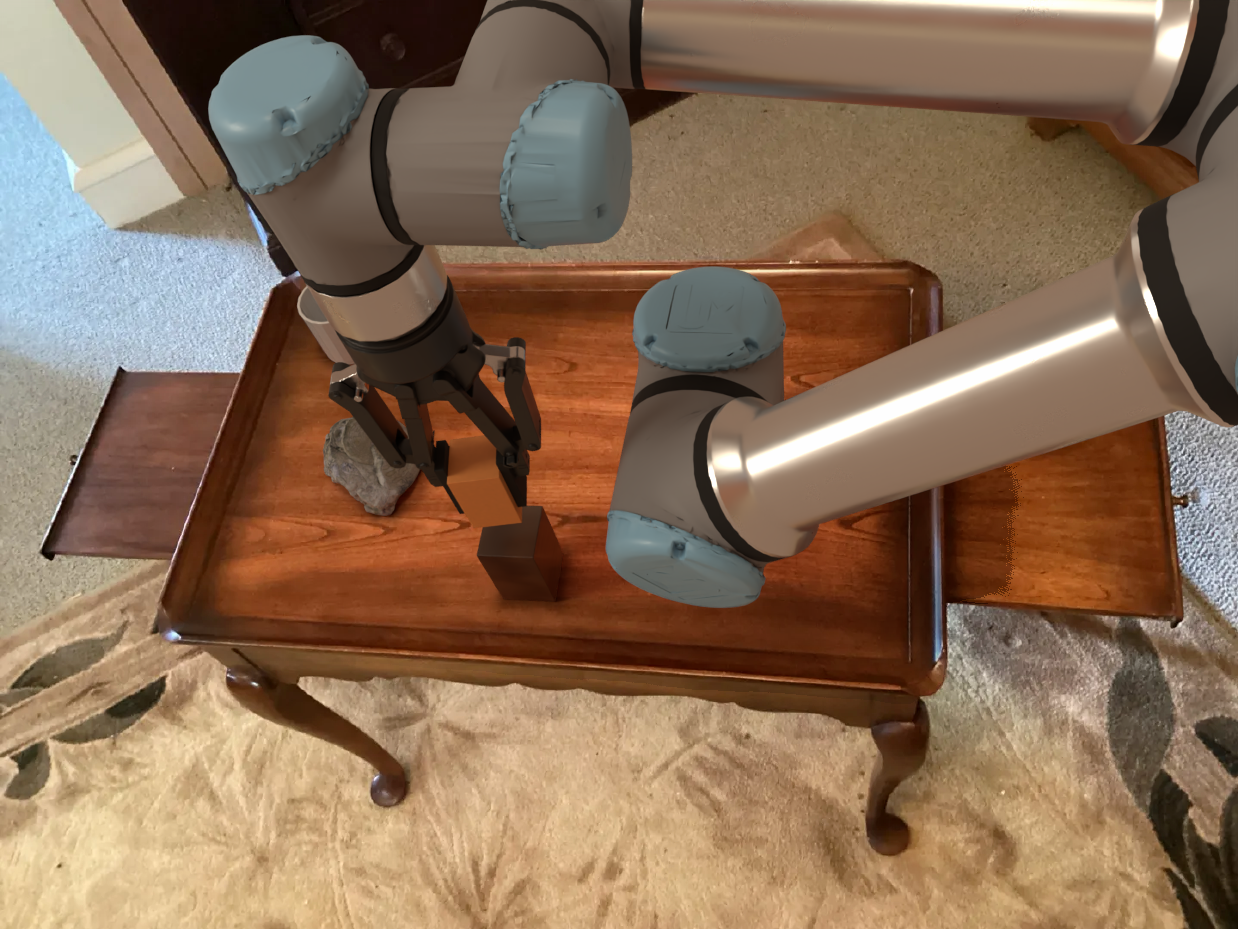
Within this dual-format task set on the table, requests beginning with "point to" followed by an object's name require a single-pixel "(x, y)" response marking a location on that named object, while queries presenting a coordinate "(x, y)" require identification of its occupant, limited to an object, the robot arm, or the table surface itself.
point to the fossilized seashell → (364, 468)
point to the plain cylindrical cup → (321, 328)
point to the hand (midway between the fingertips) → (493, 495)
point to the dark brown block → (523, 557)
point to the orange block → (480, 483)
